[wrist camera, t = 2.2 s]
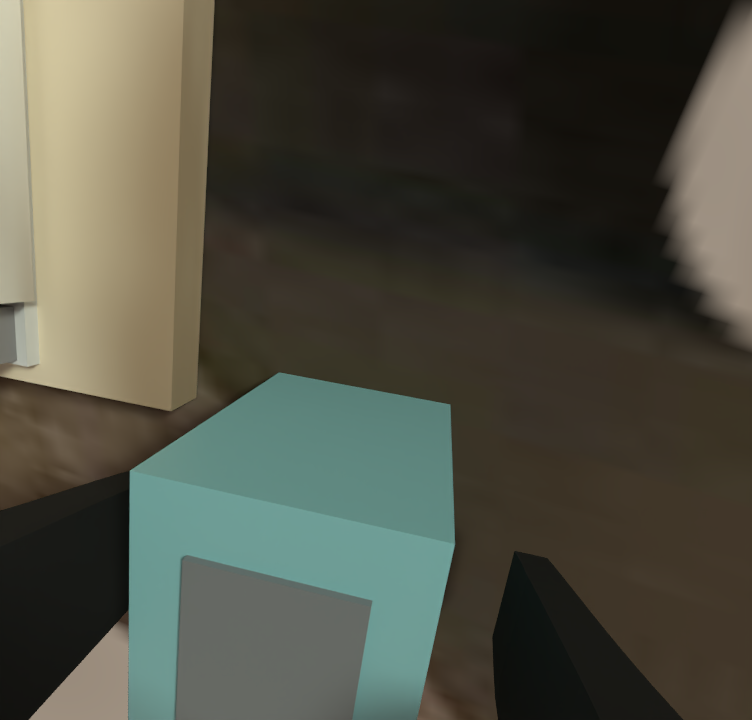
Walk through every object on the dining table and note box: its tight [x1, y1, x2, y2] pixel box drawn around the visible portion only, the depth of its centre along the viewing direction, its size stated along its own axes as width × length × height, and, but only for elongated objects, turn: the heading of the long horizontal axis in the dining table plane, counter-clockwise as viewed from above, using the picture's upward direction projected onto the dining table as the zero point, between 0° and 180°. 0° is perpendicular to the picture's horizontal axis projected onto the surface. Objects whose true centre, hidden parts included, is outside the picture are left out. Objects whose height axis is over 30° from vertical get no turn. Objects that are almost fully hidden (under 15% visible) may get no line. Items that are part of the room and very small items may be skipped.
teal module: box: [128, 373, 455, 720], centre depth 8 cm, size 4×6×5 cm, turn 172°
